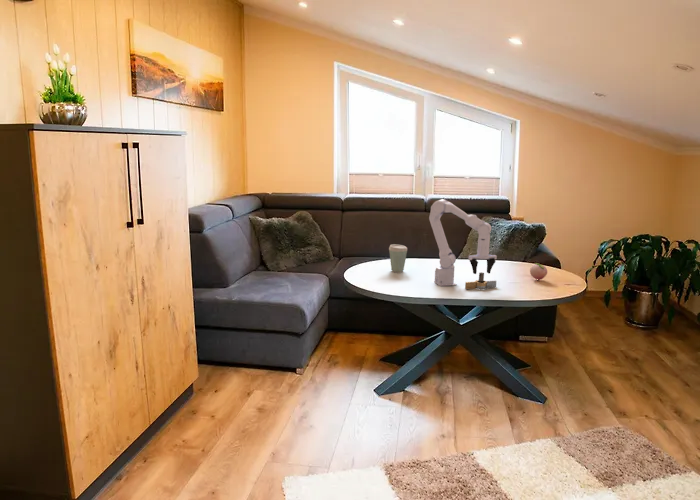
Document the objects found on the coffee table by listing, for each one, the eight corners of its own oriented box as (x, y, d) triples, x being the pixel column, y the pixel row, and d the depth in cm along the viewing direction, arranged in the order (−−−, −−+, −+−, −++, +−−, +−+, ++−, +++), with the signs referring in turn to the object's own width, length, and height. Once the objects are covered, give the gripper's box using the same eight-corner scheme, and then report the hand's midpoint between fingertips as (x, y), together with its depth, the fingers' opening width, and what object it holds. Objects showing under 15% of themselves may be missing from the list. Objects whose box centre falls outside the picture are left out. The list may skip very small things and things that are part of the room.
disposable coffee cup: (406, 269, 320) (407, 244, 316) (406, 274, 309) (407, 247, 306) (388, 268, 321) (389, 243, 318) (387, 273, 310) (388, 247, 307)
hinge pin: (479, 288, 282) (480, 273, 280) (477, 287, 284) (478, 272, 282) (483, 288, 282) (484, 273, 281) (481, 287, 284) (482, 272, 283)
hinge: (467, 290, 278) (468, 283, 278) (463, 287, 284) (463, 280, 283) (498, 288, 282) (498, 282, 282) (493, 285, 288) (493, 279, 287)
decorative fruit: (525, 278, 304) (527, 260, 302) (538, 277, 306) (539, 260, 304) (536, 283, 295) (537, 264, 293) (549, 282, 297) (550, 264, 295)
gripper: (473, 249, 273) (471, 275, 276) (500, 248, 277) (498, 274, 279) (467, 246, 280) (465, 272, 283) (493, 245, 283) (491, 271, 286)
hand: (481, 273), depth 281 cm, fingers open, 7 cm apart
